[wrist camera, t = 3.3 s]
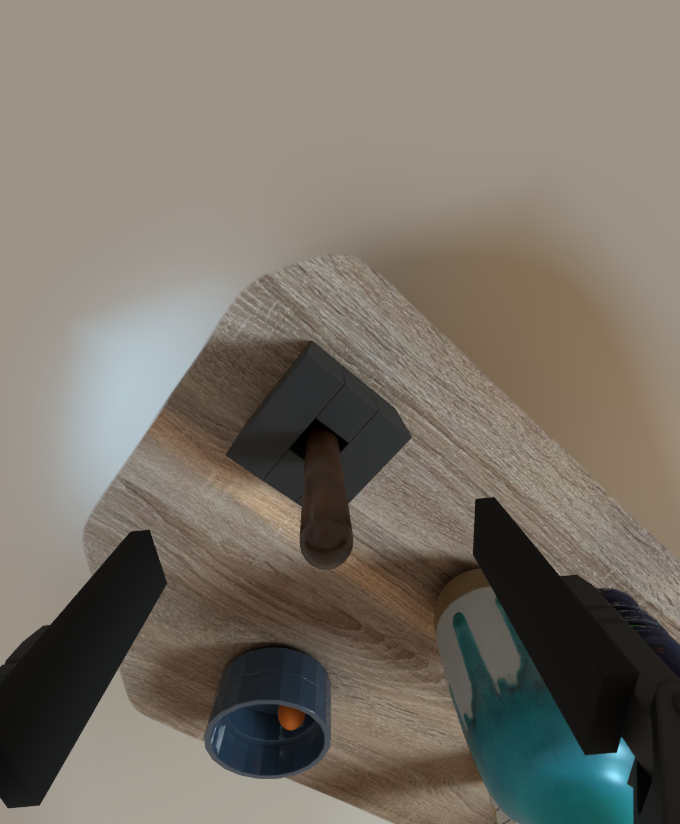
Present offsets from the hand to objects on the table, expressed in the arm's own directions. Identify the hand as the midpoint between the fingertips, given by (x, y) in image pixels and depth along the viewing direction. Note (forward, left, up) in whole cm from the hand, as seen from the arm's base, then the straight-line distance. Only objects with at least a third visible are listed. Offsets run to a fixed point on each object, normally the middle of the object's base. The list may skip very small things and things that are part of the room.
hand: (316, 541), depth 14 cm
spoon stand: (0, 0, -15) cm, 15 cm away
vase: (+24, -5, -15) cm, 29 cm away
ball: (+18, -28, -13) cm, 36 cm away
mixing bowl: (+16, -28, -15) cm, 35 cm away
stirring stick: (0, 0, -15) cm, 15 cm away
